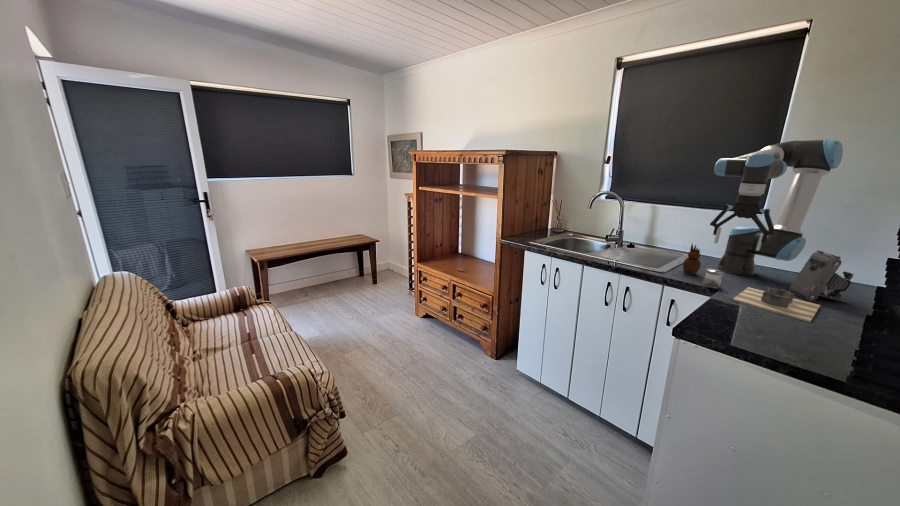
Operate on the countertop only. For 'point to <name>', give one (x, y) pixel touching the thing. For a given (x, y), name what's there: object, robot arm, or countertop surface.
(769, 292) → the dark grey faceted bowl
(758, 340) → the countertop surface
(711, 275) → the glass jar
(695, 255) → the wooden figurine
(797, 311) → the mount board
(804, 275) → the camera
